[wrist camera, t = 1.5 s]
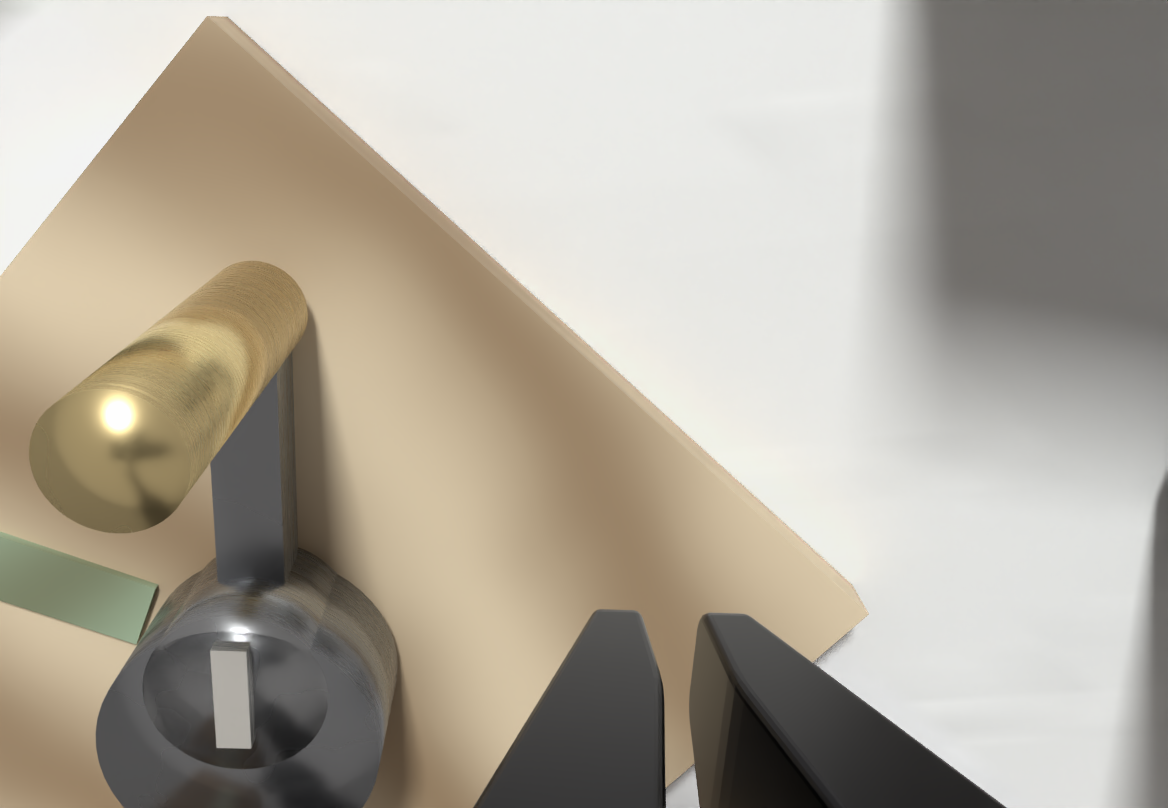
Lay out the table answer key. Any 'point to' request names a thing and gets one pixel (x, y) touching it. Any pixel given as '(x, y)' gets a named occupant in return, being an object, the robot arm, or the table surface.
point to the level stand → (361, 446)
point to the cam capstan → (223, 566)
